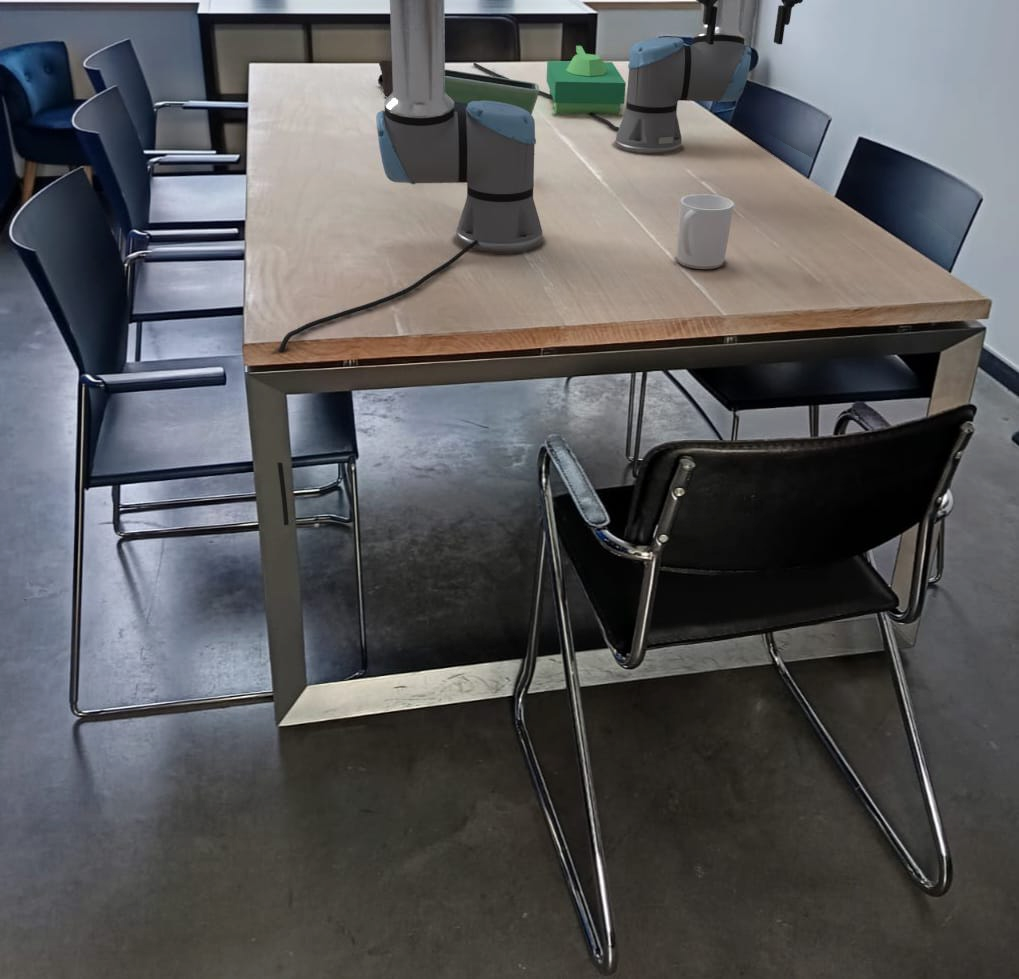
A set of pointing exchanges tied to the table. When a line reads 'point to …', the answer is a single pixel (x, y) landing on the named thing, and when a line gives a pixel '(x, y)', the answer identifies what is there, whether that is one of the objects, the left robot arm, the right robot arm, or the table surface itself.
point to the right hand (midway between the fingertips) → (743, 43)
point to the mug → (703, 230)
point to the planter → (489, 90)
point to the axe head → (386, 77)
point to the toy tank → (585, 85)
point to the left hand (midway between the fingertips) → (419, 98)
